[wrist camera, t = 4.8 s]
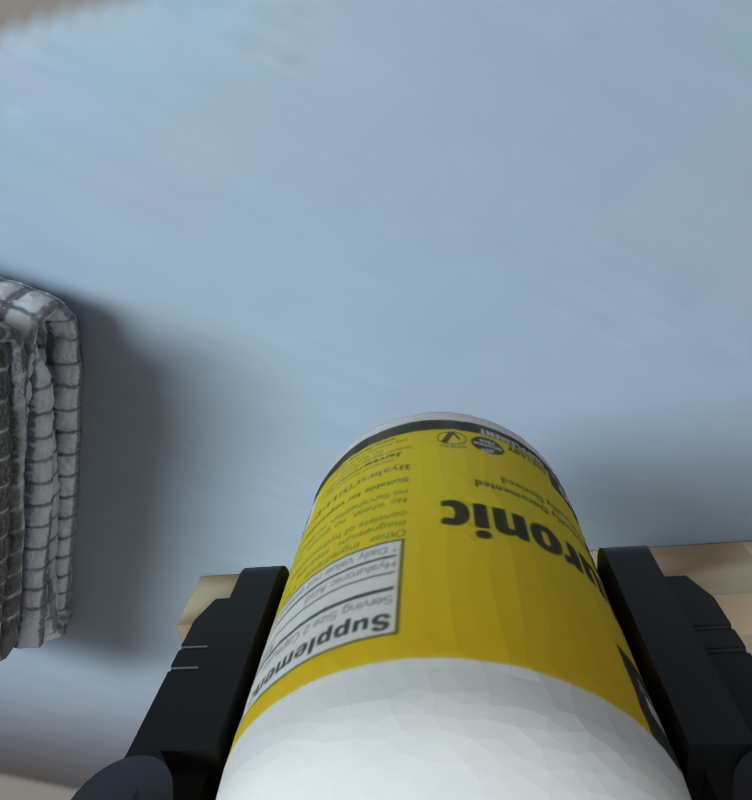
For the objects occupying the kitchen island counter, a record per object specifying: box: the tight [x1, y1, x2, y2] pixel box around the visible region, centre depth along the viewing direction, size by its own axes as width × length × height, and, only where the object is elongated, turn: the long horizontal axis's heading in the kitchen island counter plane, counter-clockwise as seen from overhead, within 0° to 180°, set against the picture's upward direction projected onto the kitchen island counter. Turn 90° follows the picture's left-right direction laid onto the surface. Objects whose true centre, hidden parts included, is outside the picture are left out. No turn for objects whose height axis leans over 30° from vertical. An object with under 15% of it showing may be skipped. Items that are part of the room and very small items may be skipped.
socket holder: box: [176, 541, 752, 656], centre depth 26 cm, size 26×13×3 cm, turn 97°
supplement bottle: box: [216, 412, 692, 800], centre depth 8 cm, size 5×5×10 cm
